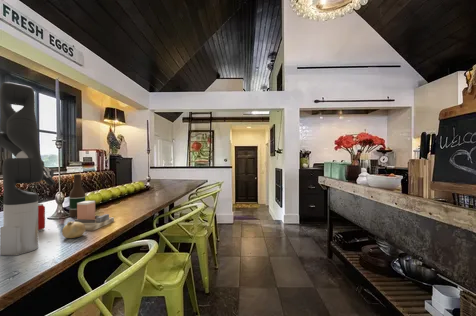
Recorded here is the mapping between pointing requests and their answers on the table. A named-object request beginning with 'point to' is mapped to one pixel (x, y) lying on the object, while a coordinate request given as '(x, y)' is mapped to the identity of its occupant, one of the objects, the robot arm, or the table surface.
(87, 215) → the pink box
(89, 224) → the console
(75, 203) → the beer bottle
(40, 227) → the beverage can
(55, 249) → the table surface
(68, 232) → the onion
